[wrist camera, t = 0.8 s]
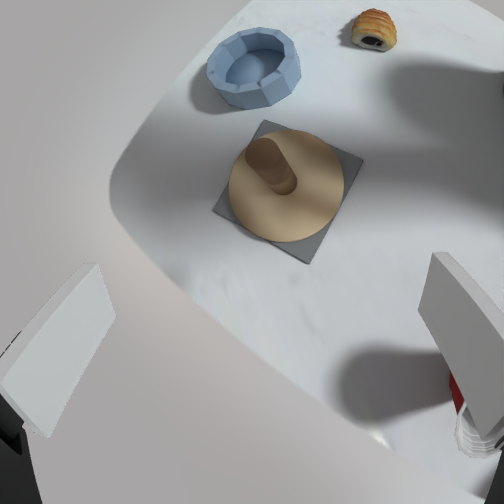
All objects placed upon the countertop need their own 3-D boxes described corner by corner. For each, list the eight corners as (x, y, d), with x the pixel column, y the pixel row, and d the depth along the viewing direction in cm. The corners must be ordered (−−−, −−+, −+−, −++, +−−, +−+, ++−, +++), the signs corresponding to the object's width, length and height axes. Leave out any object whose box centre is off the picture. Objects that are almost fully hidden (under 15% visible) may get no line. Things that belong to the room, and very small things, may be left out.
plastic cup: (413, 376, 29) (437, 421, 18) (478, 314, 27) (527, 331, 15) (452, 429, 26) (479, 479, 15) (512, 372, 24) (557, 402, 13)
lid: (264, 119, 37) (237, 77, 27) (362, 160, 32) (364, 119, 23) (213, 210, 38) (169, 191, 29) (309, 264, 34) (292, 259, 24)
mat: (265, 120, 37) (264, 119, 37) (362, 161, 33) (362, 159, 32) (214, 211, 38) (213, 210, 38) (309, 264, 34) (309, 264, 34)
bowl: (244, 41, 39) (234, 24, 35) (314, 55, 36) (309, 36, 31) (205, 97, 41) (191, 82, 36) (275, 119, 37) (266, 102, 32)
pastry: (358, 13, 34) (356, -3, 30) (397, 21, 32) (398, 5, 28) (350, 47, 34) (349, 30, 30) (395, 56, 32) (396, 40, 28)
